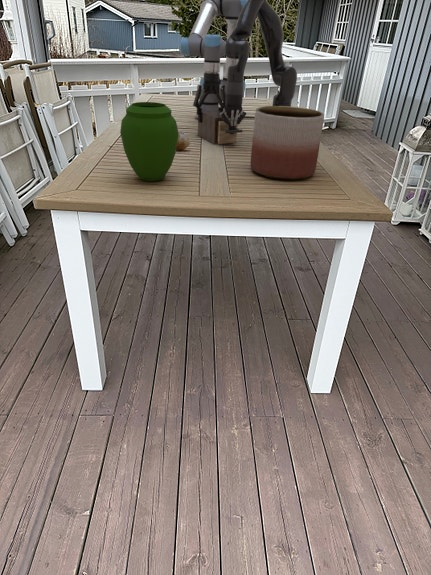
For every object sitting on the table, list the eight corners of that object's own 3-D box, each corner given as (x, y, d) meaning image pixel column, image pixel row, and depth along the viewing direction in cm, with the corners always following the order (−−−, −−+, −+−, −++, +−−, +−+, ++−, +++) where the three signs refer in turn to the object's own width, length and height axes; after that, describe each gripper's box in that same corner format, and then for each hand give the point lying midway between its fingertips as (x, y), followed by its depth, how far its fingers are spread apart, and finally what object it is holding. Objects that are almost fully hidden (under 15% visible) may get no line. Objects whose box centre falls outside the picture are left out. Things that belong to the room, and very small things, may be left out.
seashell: (189, 148, 186) (189, 129, 181) (190, 151, 181) (190, 132, 177) (168, 148, 184) (168, 129, 180) (169, 151, 180) (168, 132, 175)
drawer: (242, 145, 191) (243, 123, 186) (224, 146, 187) (225, 124, 182) (219, 134, 210) (220, 113, 204) (202, 135, 206) (203, 114, 201)
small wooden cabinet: (233, 142, 199) (235, 117, 193) (214, 144, 195) (215, 117, 189) (215, 134, 215) (216, 109, 208) (197, 135, 211) (198, 110, 204)
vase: (131, 189, 135) (125, 110, 122) (118, 172, 150) (112, 100, 137) (186, 184, 142) (187, 109, 129) (169, 168, 157) (167, 99, 144)
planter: (324, 181, 152) (336, 118, 140) (258, 182, 148) (265, 117, 136) (301, 162, 173) (310, 106, 162) (243, 162, 169) (248, 104, 157)
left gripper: (229, 72, 202) (226, 119, 214) (186, 71, 193) (186, 121, 205) (236, 73, 196) (233, 122, 208) (192, 73, 187) (191, 124, 199)
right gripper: (243, 91, 184) (240, 131, 193) (217, 91, 179) (215, 132, 189) (251, 93, 178) (248, 135, 188) (224, 94, 174) (222, 136, 183)
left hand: (209, 121), depth 206 cm, fingers closed on small wooden cabinet, 10 cm apart
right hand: (231, 133), depth 188 cm, fingers closed
